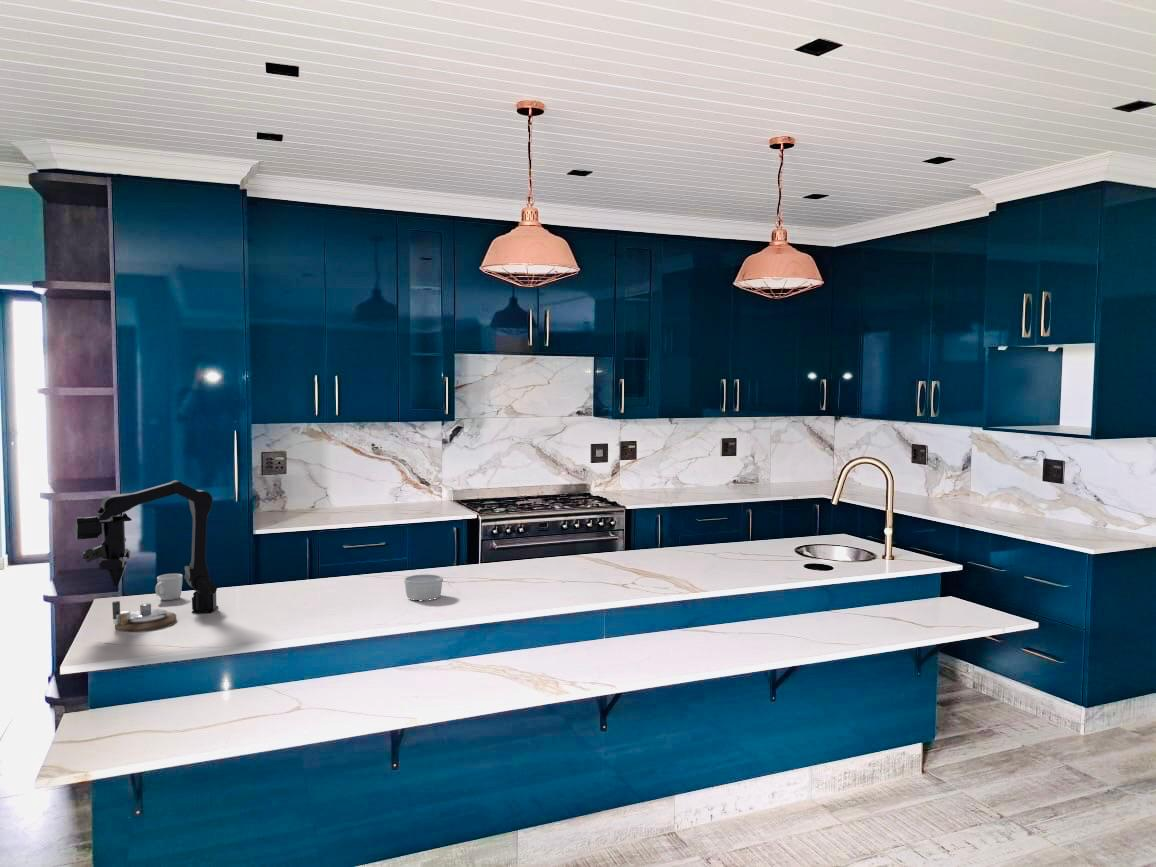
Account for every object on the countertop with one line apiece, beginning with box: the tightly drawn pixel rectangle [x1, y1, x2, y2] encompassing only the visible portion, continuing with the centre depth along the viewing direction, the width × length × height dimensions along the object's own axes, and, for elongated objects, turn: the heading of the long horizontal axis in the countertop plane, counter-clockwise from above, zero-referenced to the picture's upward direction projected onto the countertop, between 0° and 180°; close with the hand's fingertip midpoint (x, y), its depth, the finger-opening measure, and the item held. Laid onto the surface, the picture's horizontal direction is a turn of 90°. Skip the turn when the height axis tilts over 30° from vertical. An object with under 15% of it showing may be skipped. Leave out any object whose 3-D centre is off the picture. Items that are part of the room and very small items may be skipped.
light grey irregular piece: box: [111, 600, 168, 625], centre depth 259 cm, size 16×12×7 cm
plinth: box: [114, 611, 177, 633], centre depth 261 cm, size 17×17×4 cm
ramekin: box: [403, 573, 444, 600], centre depth 292 cm, size 13×13×7 cm
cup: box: [154, 573, 184, 601], centre depth 290 cm, size 11×8×8 cm
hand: (116, 586), depth 259 cm, fingers closed
